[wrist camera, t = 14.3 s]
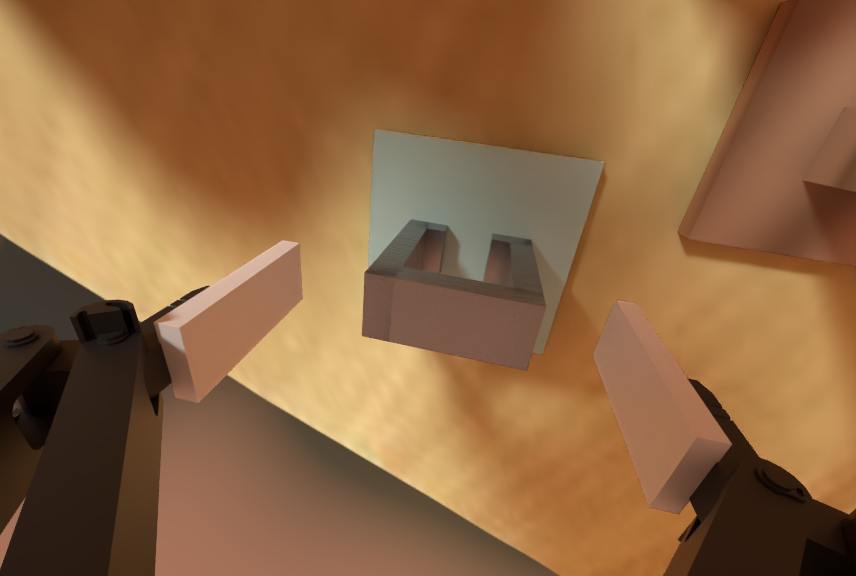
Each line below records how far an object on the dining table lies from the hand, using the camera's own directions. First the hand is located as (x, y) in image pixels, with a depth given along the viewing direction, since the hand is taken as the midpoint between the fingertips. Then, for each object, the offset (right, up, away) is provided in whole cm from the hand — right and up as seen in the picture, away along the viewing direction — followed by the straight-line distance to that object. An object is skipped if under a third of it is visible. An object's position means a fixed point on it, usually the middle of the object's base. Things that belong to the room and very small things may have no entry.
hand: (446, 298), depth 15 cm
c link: (+1, +3, +6) cm, 7 cm away
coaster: (+2, +3, +7) cm, 8 cm away
